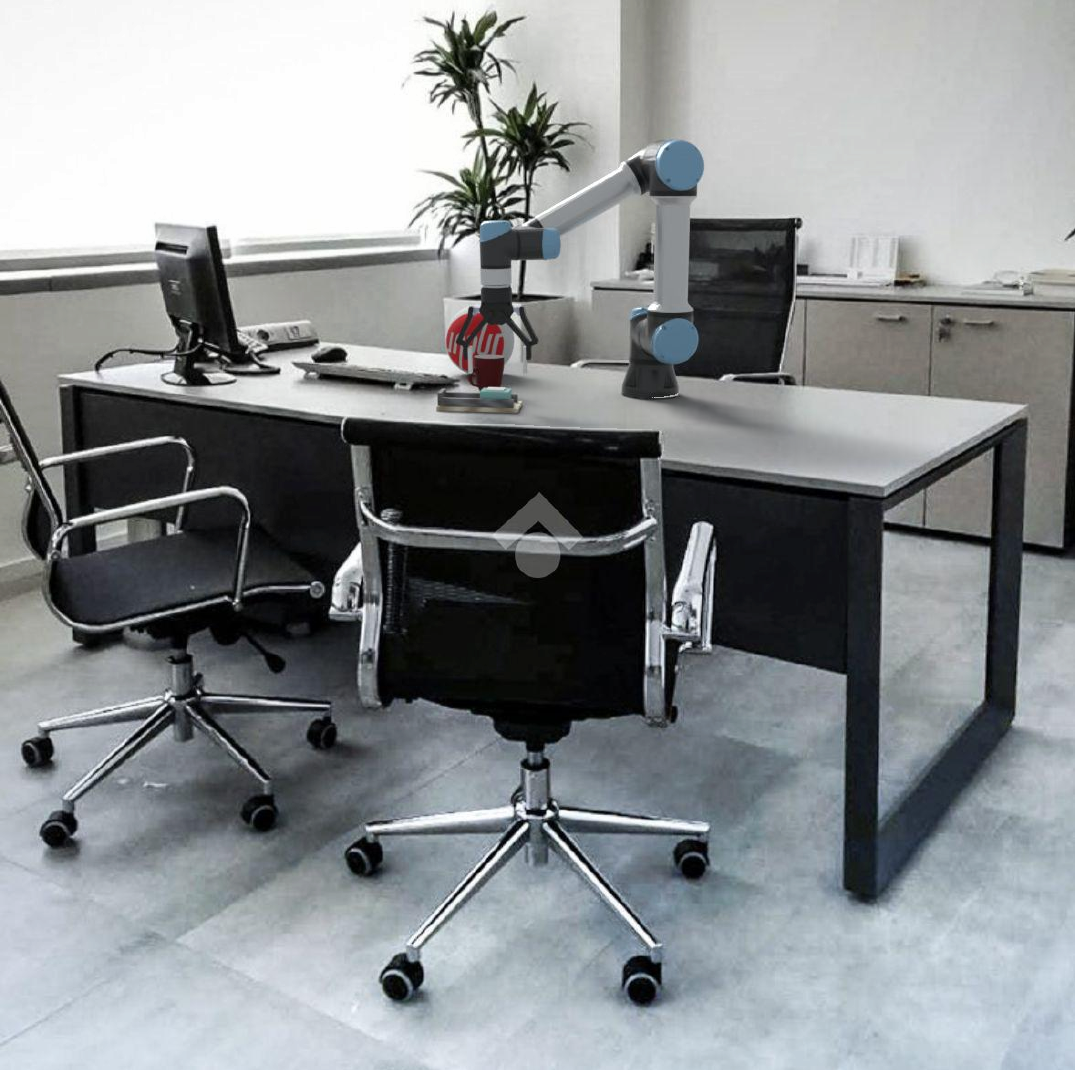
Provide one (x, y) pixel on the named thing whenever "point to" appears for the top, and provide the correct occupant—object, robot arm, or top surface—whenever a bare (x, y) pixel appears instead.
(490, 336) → the decorative sphere
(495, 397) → the block
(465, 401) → the rail mount
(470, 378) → the mug
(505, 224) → the robot arm
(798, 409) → the top surface
